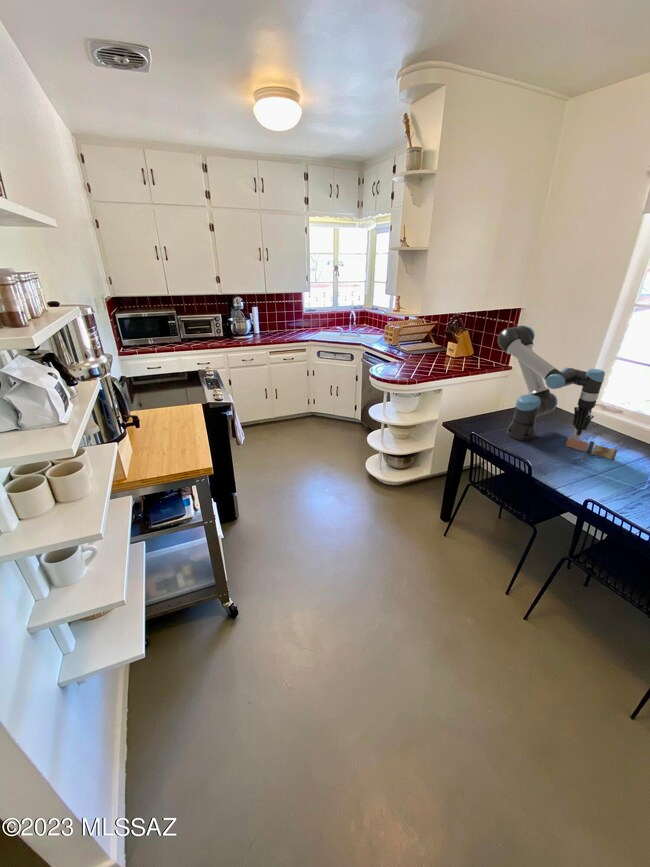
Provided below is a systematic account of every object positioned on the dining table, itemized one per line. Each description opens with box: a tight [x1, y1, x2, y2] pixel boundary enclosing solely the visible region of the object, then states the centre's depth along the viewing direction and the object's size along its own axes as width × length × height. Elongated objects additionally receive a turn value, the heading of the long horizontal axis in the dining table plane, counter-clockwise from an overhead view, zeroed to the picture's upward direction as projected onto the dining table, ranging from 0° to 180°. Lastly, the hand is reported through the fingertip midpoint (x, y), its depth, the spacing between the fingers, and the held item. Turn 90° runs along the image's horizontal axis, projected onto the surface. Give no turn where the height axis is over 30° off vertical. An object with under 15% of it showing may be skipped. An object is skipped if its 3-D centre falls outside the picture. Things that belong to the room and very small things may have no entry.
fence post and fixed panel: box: [586, 440, 618, 461], centre depth 185 cm, size 12×2×6 cm, turn 43°
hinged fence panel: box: [565, 436, 589, 453], centre depth 193 cm, size 9×1×6 cm, turn 43°
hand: (575, 439), depth 198 cm, fingers closed
